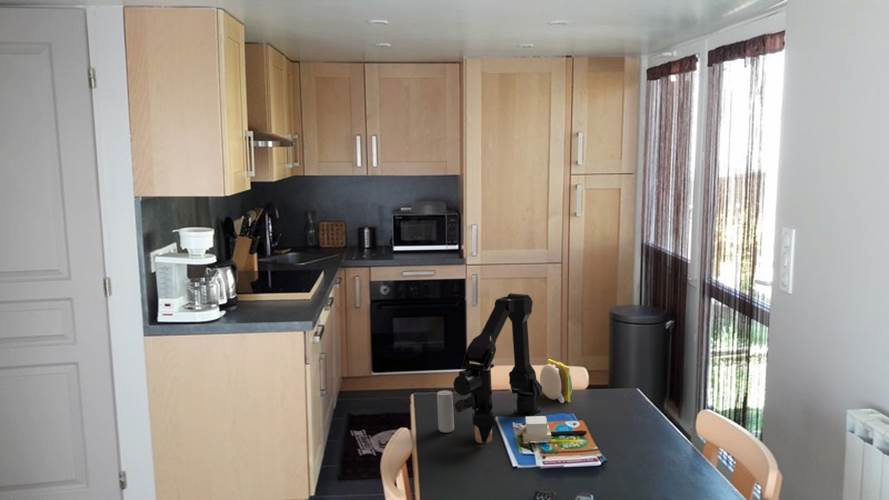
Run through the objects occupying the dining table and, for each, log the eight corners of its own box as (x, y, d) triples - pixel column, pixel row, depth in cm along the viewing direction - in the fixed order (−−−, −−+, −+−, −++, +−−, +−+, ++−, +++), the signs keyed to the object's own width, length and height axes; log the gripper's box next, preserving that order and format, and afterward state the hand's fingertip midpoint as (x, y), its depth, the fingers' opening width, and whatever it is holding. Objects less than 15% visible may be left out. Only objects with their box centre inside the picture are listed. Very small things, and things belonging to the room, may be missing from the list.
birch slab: (521, 434, 213) (521, 425, 213) (548, 434, 213) (548, 424, 213) (523, 445, 205) (523, 435, 205) (551, 444, 205) (551, 434, 205)
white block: (525, 426, 212) (525, 416, 212) (545, 425, 212) (545, 416, 211) (526, 433, 206) (526, 423, 206) (547, 433, 206) (547, 423, 205)
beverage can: (452, 433, 215) (450, 395, 214) (437, 432, 216) (435, 395, 215) (455, 427, 220) (453, 390, 219) (440, 427, 221) (438, 390, 220)
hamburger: (535, 395, 247) (534, 361, 245) (555, 390, 250) (555, 357, 249) (555, 405, 236) (554, 370, 234) (575, 400, 239) (574, 366, 238)
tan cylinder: (483, 435, 213) (482, 419, 212) (495, 439, 209) (495, 423, 209) (471, 440, 210) (471, 424, 209) (484, 444, 206) (483, 428, 205)
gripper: (454, 376, 217) (456, 425, 219) (453, 397, 198) (456, 450, 200) (490, 375, 217) (492, 424, 219) (493, 395, 198) (495, 448, 200)
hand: (483, 436), depth 209 cm, fingers open, 9 cm apart
